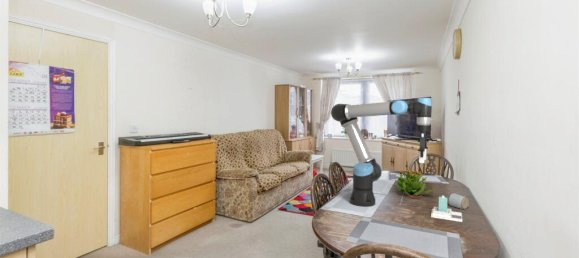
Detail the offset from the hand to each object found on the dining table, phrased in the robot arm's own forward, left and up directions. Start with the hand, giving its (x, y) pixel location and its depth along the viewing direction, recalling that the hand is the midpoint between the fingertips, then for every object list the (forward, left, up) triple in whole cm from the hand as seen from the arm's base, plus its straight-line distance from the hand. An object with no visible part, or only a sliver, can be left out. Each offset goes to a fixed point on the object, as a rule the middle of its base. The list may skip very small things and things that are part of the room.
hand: (422, 161), depth 169 cm
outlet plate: (+13, -11, -27) cm, 32 cm away
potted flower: (-6, +22, -27) cm, 35 cm away
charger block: (+11, -10, -26) cm, 30 cm away
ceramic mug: (+20, +10, -27) cm, 35 cm away
